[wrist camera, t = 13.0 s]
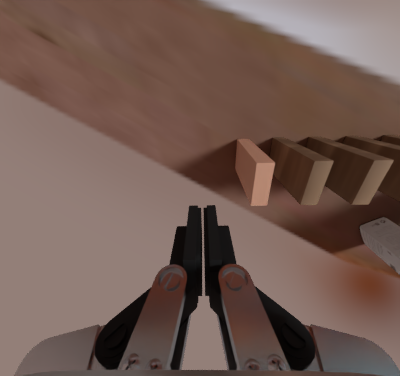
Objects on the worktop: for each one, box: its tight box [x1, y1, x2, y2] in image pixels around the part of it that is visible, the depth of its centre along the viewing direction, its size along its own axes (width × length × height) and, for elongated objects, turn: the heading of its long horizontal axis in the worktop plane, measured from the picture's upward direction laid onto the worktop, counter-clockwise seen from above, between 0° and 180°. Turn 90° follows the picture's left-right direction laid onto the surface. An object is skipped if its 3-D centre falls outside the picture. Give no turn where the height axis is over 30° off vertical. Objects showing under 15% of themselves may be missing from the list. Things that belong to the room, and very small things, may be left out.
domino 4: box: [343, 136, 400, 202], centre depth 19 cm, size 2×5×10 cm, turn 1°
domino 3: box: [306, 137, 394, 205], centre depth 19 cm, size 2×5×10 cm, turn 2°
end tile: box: [235, 139, 275, 206], centre depth 20 cm, size 2×5×10 cm, turn 2°
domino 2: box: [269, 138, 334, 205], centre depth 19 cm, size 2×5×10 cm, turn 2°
